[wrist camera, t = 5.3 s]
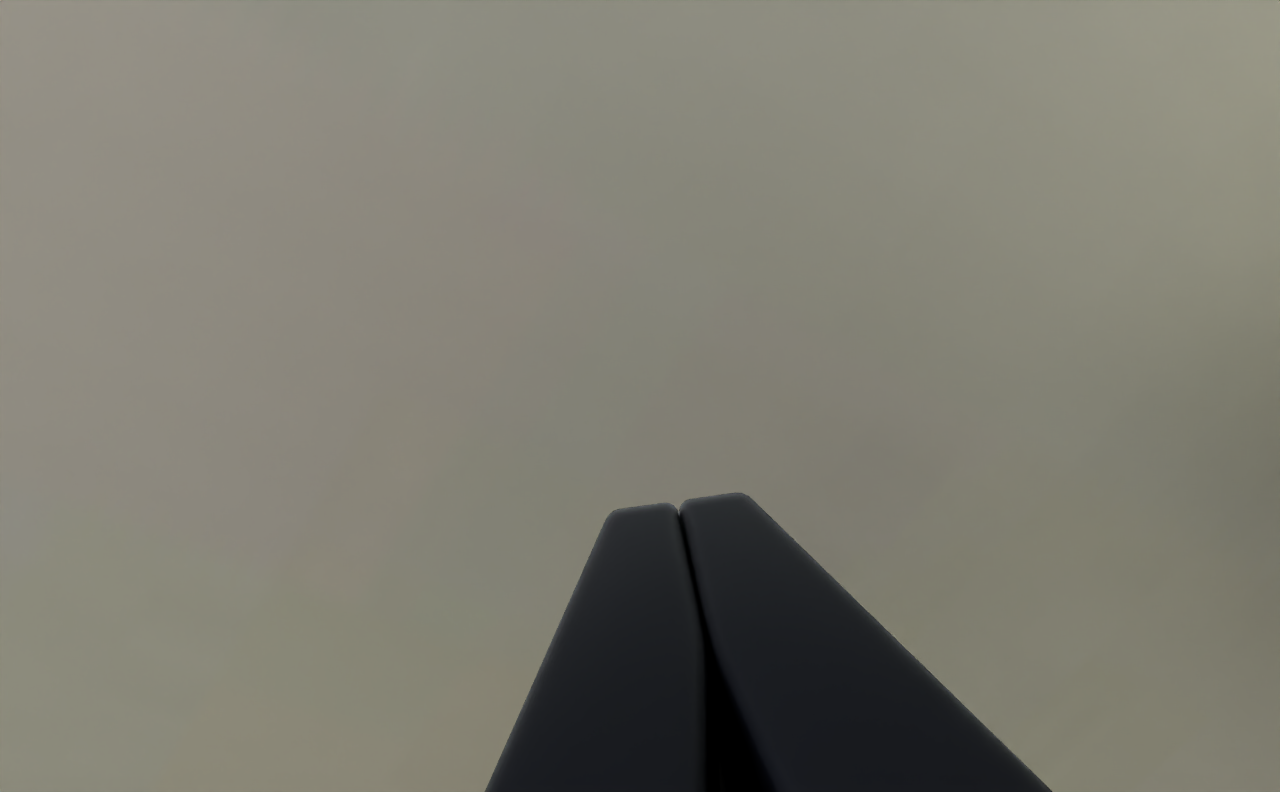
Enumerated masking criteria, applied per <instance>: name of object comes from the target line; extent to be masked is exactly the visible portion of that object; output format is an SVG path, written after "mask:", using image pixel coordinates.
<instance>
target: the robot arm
mask: <svg viewBox="0 0 1280 792" xmlns="http://www.w3.org/2000/svg"><path fill="white" fill-rule="evenodd" d="M485 792H1052V791H1051V790H1050V789H1049V788H1048V787H1047V786H1046V785H1045V784H1044V783H1043V782H1042V781H1041V780H1040V779H1039V778H1038V777H1037V776H1036V775H1035V774H1034V773H1033V772H1032V771H1031V770H1030V769H1029V768H1028V767H1027V766H1026V765H1025V764H1024V763H1023V762H1021V761H1020V760H1019V759H1018V758H1017V757H1016V756H1015V755H1014V754H1013V753H1012V752H1011V751H1010V750H1009V749H1008V748H1007V747H1006V746H1005V745H1004V744H1003V743H1002V742H1001V741H1000V740H999V739H998V738H997V737H996V736H995V735H994V734H993V733H992V732H991V731H990V730H989V729H988V728H987V727H986V726H985V725H984V724H982V723H981V722H980V721H979V720H978V719H977V718H976V717H975V716H974V715H973V714H972V713H971V712H970V711H969V710H968V709H967V708H966V707H965V706H964V705H963V704H962V703H961V702H960V701H959V700H958V699H957V698H956V697H955V696H954V695H953V694H952V693H951V692H950V691H949V690H948V689H947V688H946V687H944V686H943V685H942V684H941V683H940V682H939V681H938V680H937V679H936V678H935V677H934V676H933V675H932V674H931V673H930V672H929V671H928V670H927V669H926V668H925V667H924V666H923V665H922V664H921V663H920V662H919V661H918V660H917V659H916V658H915V657H914V656H913V655H912V654H911V653H910V652H909V651H908V650H906V649H905V648H904V647H903V646H902V645H901V644H900V643H899V642H898V641H897V640H896V639H895V638H894V637H893V636H892V635H891V634H890V633H889V632H888V631H887V630H886V629H885V628H884V627H883V626H882V625H881V624H880V623H879V622H878V621H877V620H876V619H875V618H874V617H873V616H872V615H871V614H870V613H868V612H867V611H866V610H865V609H864V608H863V607H862V606H861V605H860V604H859V603H858V602H857V601H856V600H855V599H854V598H853V597H852V596H851V595H850V594H849V593H848V592H847V591H846V590H845V589H844V588H843V587H842V586H841V585H840V584H839V583H838V582H837V581H836V580H835V579H834V578H833V577H832V576H831V575H829V574H828V573H827V572H826V571H825V570H824V569H823V568H822V567H821V566H820V565H819V564H818V563H817V562H816V561H815V560H814V559H813V558H812V557H811V556H810V555H809V554H808V553H807V552H806V551H805V550H804V549H803V548H802V547H801V546H800V545H799V544H798V543H797V542H796V541H795V540H794V539H793V538H791V537H790V536H789V535H788V534H787V533H786V532H785V531H784V530H783V529H782V528H781V527H780V526H779V525H778V524H777V523H776V522H775V521H774V520H773V519H772V518H771V517H770V516H769V515H768V514H767V513H766V512H765V511H764V510H763V509H762V508H761V507H760V506H759V505H758V504H757V503H756V502H755V501H753V500H752V499H751V498H750V497H749V496H747V495H745V494H743V493H729V494H722V495H715V496H708V497H701V498H694V499H689V500H686V501H685V502H683V503H682V504H681V507H680V509H679V513H678V510H677V509H676V508H675V506H674V505H672V504H670V503H659V504H651V505H644V506H637V507H630V508H623V509H618V510H615V511H613V512H612V513H610V514H609V516H608V517H607V519H606V520H605V522H604V524H603V527H602V529H601V531H600V533H599V536H598V538H597V540H596V542H595V545H594V547H593V549H592V551H591V554H590V556H589V558H588V560H587V563H586V565H585V567H584V569H583V572H582V574H581V576H580V579H579V581H578V583H577V585H576V588H575V590H574V592H573V594H572V597H571V599H570V601H569V603H568V606H567V608H566V610H565V612H564V615H563V617H562V619H561V621H560V624H559V626H558V628H557V630H556V633H555V635H554V637H553V639H552V642H551V644H550V646H549V648H548V651H547V653H546V655H545V657H544V660H543V662H542V664H541V666H540V669H539V671H538V673H537V675H536V678H535V680H534V682H533V684H532V687H531V689H530V691H529V693H528V696H527V698H526V700H525V702H524V705H523V707H522V709H521V711H520V714H519V716H518V718H517V720H516V723H515V725H514V727H513V729H512V732H511V734H510V736H509V739H508V741H507V743H506V745H505V748H504V750H503V752H502V754H501V757H500V759H499V761H498V763H497V766H496V768H495V770H494V772H493V775H492V777H491V779H490V781H489V784H488V786H487V788H486V790H485Z"/></svg>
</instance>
